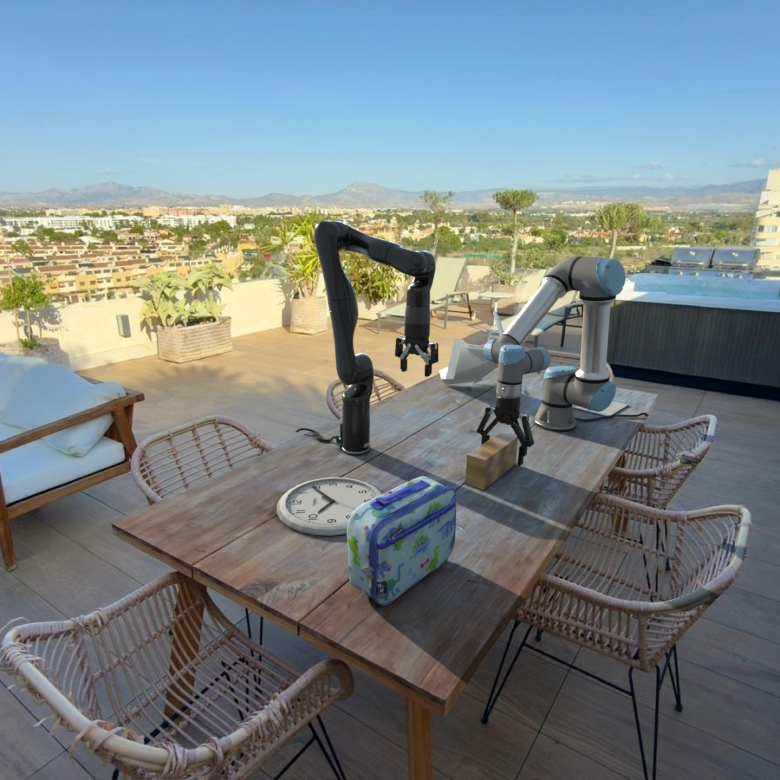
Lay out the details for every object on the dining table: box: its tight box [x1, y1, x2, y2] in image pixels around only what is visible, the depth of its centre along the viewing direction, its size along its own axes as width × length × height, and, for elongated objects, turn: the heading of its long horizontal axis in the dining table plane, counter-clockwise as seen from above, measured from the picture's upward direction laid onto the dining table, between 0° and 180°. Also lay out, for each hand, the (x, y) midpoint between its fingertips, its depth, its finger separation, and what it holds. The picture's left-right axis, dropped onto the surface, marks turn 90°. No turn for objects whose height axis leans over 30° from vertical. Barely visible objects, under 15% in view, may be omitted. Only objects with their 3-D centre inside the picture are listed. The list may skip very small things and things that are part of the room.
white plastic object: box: [438, 310, 531, 397], centre depth 245 cm, size 37×45×31 cm
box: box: [464, 432, 519, 491], centre depth 162 cm, size 22×6×10 cm, turn 143°
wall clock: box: [276, 476, 384, 537], centre depth 142 cm, size 30×2×30 cm
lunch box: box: [346, 475, 457, 607], centre depth 111 cm, size 26×11×21 cm, turn 134°
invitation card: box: [573, 400, 629, 417], centre depth 226 cm, size 21×1×15 cm
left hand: (415, 373), depth 159 cm, fingers open, 8 cm apart
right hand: (502, 459), depth 169 cm, fingers open, 11 cm apart
